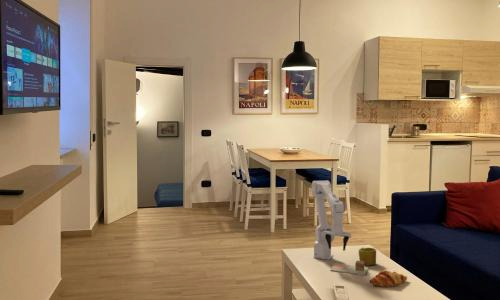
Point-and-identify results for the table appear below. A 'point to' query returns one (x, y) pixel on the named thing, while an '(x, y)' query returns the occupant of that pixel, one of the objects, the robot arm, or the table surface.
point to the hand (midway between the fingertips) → (337, 249)
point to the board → (347, 269)
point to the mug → (367, 256)
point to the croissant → (388, 279)
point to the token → (359, 266)
